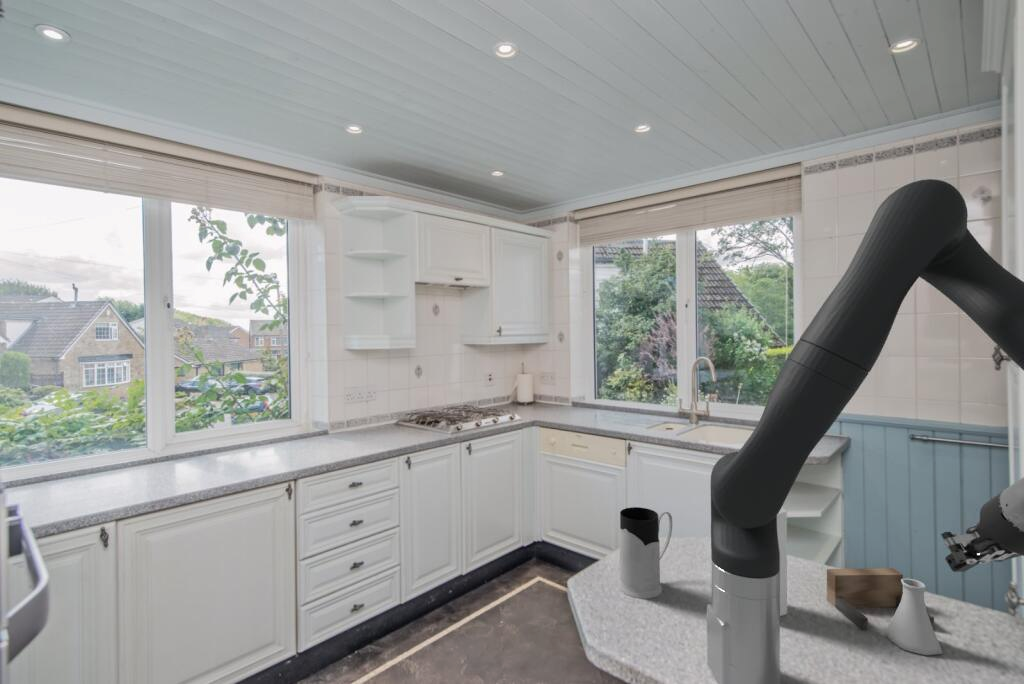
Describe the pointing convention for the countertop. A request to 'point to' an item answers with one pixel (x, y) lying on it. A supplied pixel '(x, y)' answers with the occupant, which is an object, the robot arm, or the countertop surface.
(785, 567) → the milk
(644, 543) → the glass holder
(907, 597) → the flask
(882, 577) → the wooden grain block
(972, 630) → the countertop surface
